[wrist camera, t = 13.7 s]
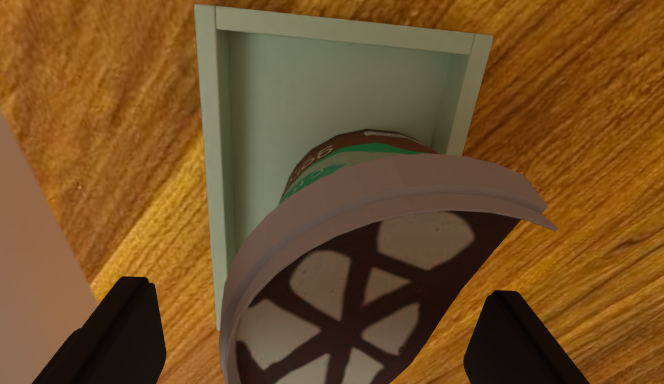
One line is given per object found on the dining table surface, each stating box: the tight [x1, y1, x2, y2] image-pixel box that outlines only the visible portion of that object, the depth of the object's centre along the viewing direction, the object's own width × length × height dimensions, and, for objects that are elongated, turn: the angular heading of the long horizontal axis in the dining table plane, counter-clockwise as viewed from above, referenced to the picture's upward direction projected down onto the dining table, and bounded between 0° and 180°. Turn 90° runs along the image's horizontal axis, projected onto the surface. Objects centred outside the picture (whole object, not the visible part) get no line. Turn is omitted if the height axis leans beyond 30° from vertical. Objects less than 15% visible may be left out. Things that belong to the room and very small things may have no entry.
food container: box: [219, 129, 558, 384], centre depth 13 cm, size 12×6×10 cm, turn 153°
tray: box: [194, 4, 494, 330], centre depth 17 cm, size 12×17×3 cm
